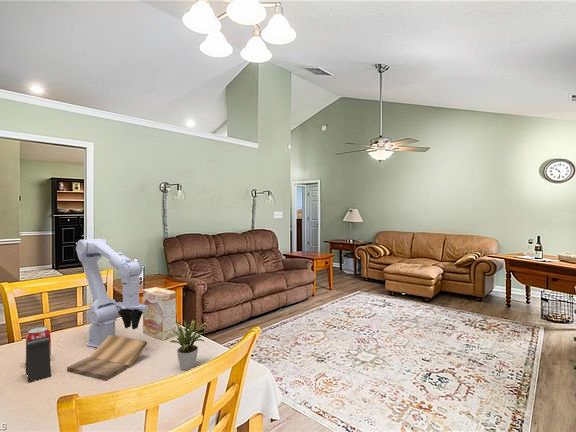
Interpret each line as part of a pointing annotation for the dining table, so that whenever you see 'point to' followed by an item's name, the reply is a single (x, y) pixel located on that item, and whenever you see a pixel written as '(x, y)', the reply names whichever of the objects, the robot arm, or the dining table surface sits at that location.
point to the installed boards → (96, 368)
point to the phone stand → (38, 359)
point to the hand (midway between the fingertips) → (131, 327)
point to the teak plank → (119, 350)
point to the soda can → (39, 335)
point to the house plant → (187, 345)
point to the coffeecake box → (159, 313)
